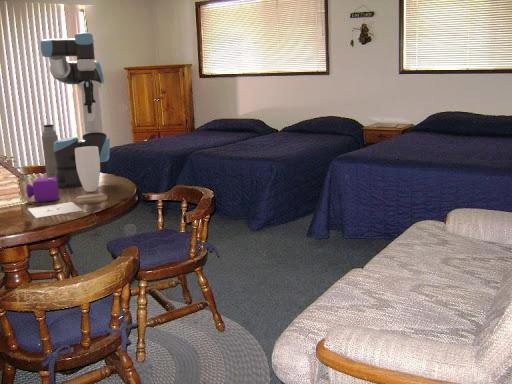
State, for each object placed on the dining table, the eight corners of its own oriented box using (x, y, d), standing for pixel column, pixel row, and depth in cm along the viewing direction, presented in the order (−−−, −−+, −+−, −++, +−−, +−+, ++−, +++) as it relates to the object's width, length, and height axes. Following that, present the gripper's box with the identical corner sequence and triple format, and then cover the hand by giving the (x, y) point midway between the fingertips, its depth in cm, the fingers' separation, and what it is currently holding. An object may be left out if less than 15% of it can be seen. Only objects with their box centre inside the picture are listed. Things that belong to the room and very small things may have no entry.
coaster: (72, 200, 244) (72, 196, 243) (101, 195, 250) (101, 192, 250) (80, 205, 233) (80, 202, 233) (110, 200, 240) (110, 197, 239)
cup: (101, 199, 237) (96, 148, 232) (76, 200, 236) (70, 150, 231) (105, 193, 247) (101, 145, 242) (82, 195, 246) (76, 146, 241)
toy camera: (26, 199, 248) (23, 177, 246) (58, 196, 253) (56, 174, 251) (27, 204, 238) (24, 182, 236) (60, 200, 243) (58, 178, 241)
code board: (27, 209, 230) (27, 208, 230) (71, 202, 239) (71, 202, 239) (36, 218, 215) (35, 217, 215) (82, 210, 224) (82, 210, 224)
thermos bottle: (43, 177, 298) (37, 125, 292) (51, 175, 306) (45, 124, 300) (57, 177, 297) (51, 125, 291) (64, 175, 305) (58, 123, 299)
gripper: (94, 70, 230) (99, 121, 235) (97, 69, 254) (101, 115, 259) (75, 70, 228) (80, 122, 234) (80, 69, 252) (84, 116, 257)
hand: (91, 119), depth 246 cm, fingers open, 13 cm apart
